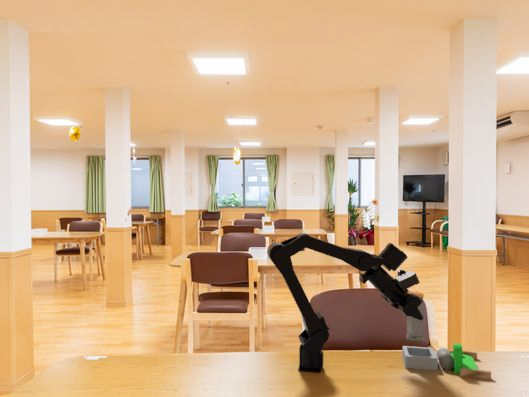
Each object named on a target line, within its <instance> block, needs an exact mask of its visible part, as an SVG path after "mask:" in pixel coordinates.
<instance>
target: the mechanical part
mask: <svg viewBox="0 0 529 397" xmlns="http://www.w3.org/2000/svg"><path fill="white" fill-rule="evenodd" d="M452 350H453V353H451V355H452V357H453V359H454V368H453V369H452V370H453V372H454V374H455V375H460V369H473V370H479V368H478V367H477V365H476V362H475V359H473V358H472V357H471V356H468V355H464V354H463V352H462V351H463V345H462V343H455V342H453V344H452Z"/></svg>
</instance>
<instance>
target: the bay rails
mask: <svg viewBox="0 0 529 397" xmlns="http://www.w3.org/2000/svg"><path fill="white" fill-rule="evenodd" d="M448 350H449V352H450V354H451V353H453V349H448ZM462 352H463V354H464V355H468V356H471V357H472V358H473V359H474V360H478V352H477V351H472V350H471V351H470V350H469V351H467V350H462ZM459 377H460V378H467V379H469V378H471V379H481V380H484V379H485V380H492V372H491V370H484V369H478V370H473V369H460V374H459Z"/></svg>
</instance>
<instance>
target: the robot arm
mask: <svg viewBox="0 0 529 397" xmlns="http://www.w3.org/2000/svg"><path fill="white" fill-rule="evenodd" d="M304 249H309V250H311V251H314V252H318V253H320V254H323V255H326V256H329V257H332V258H335V259H337V260H340V261H342V262H344V263H346V264H347V265H350V266H351V267H353V268H354V269H356V270H359V272H360V271H361V272H360V273H359V282H360V283H362V284H364V285H365V284H366V283H367V282H369V283H370V284H371V285H372V286H373V287H374V288H376V290H377V291H378V292H379V294H381V295H380V296H381V298H382V300H383V301H385V302H386V303H387V304H389V303H390V306H392V307H393V308H395V309H396V310H399V312H401V313H402V314H403V315H404V316H406V318H407V317H408V316H411V317H413V318H416V319H418V320H422V319H423V320H424V315H423V316H422V314H421V313H420V311H419V309H418V308H417V307H418V306H419V305H420V304H421V303H422V300H421V299H420V298H419V297H418V296H417V295H415V294H408V295H406V293H407V292H410V291H409V288H411V287H413V286H415V285H418V284H421V283H420V280H419V278H418V275H417V272H415V271H412V270H407V271H406V270H404V269H402V268H401V269H399V270H398V268H399V267H401V265H403V263H404V262H405V261H406V260H407V259H408V256H407V254H406V253H405V252H404V251H403V250H401V249H399V248H398V247H397V246H396V245H394V243H391V242H388V243H387V244H386V246H385V248H383V250H381V252H379V254H378V255H377V254H375V253H369V252H367V251H365V250H362V249H358V248H353V247H352V248H351V247H345V246H344V247H343V246H341V245H340V246H339V245H337V244H335V243H331V242H329V241H327V240H326V241H325V240H323V239H320V238H317V237H314V236H311V235H309V234H307V233H305V232H304V233H303V232H300V233H299V234H296V235H295V236H293V237H290V238H288V239H287V238H286V239H285V240H283V241H280V242H279V241H277V242H276V241H275V242H273V243H271V244H269V246H268V248H267V251H266V253H267V256H268V258H269V259H270V260H271V262H272V263H273V265H274V266H275V267H276V269H277V270H278V271H279V273H280V274H281V275H282V278H283V281H284V283H285V284H286V287H287V288H288V290H289V292H290V294H291V297H292V298H293V301H294V302H295V304H296V306H297V309H298V310H299V313H300V314H301V318H302V322H303V326H304V330H303V331H302V332H301V333H300V334H299V335H298V340H299V342H300V345H299V351H298V353H299V356H298V357H299V359H298V360H299V361H298V362H299V363H298V364H299V365H298V368H297V369H298V371H301V372H312V373H321V372H322V368H323V367H324V351H323V347H324V345H325V344H326V342H327V341H328V340H329V337H330V332H329V330H330V329H331V328H330V327H329V326H328V324H326V320H325V316H324V315H323V314H322V313H321V311H318V312H315V311H314V309H313V307H312V305H311V302H310V301H309V299H308V296H307V294H306V293H305V290H304V289H303V287H302V284H301V282H300V280H299V278H298V276H297V274H296V272H295V270H294V266H293V261H292V258H291V257H292V256H295V255H296V254H297V253H298V254H299V252H301V251H302V250H304ZM385 269H386V270H385ZM387 271H388V272H391V271H392V272H396V271H397V276H396V277H395V278H394V277H393V276H391V274H389V273H388V272H387Z"/></svg>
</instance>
